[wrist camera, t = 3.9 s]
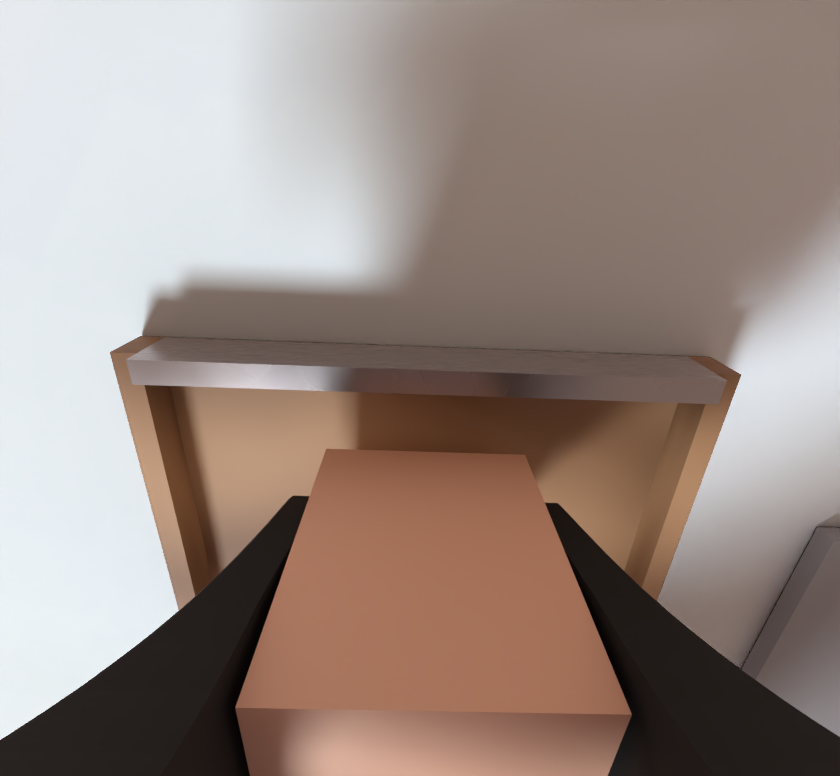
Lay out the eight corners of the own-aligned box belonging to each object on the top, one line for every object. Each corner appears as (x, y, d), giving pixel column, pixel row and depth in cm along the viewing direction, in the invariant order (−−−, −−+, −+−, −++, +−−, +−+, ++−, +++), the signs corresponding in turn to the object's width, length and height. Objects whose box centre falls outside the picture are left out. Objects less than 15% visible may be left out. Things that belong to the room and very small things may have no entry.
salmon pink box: (510, 545, 12) (585, 831, 7) (331, 540, 12) (261, 827, 7) (524, 454, 11) (631, 714, 6) (326, 448, 11) (235, 708, 5)
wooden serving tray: (587, 722, 18) (602, 769, 16) (229, 716, 18) (211, 764, 16) (709, 356, 11) (753, 381, 10) (140, 336, 11) (98, 358, 10)
